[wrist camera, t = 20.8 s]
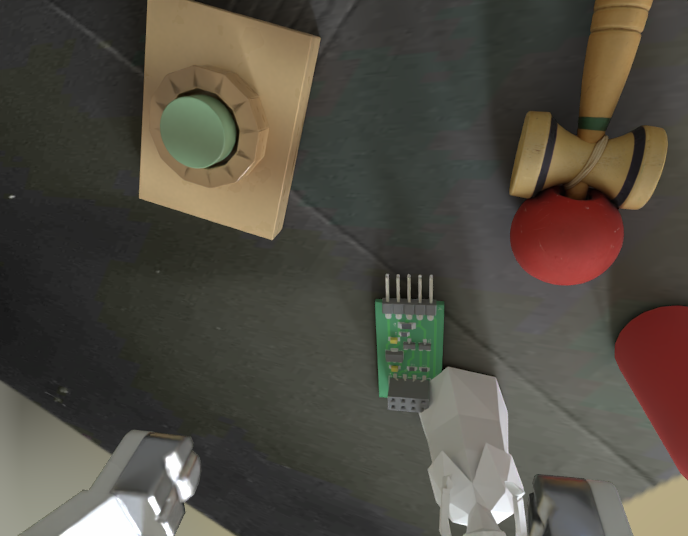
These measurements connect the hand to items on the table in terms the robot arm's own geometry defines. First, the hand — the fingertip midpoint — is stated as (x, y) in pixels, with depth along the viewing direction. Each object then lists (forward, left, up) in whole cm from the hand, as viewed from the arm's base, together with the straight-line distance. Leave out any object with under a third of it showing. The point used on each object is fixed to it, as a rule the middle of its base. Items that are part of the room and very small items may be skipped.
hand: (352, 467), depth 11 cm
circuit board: (+10, +4, -23) cm, 25 cm away
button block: (-2, -13, -22) cm, 26 cm away
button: (-2, -13, -19) cm, 23 cm away
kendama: (-8, +8, -23) cm, 25 cm away
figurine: (+15, +9, -22) cm, 28 cm away
